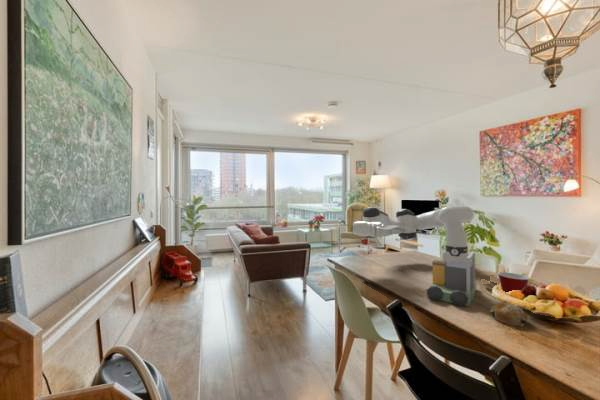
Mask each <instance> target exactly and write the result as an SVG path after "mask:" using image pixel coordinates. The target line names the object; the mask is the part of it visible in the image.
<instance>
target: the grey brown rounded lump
mask: <svg viewBox="0 0 600 400" xmlns="http://www.w3.org/2000/svg"><path fill="white" fill-rule="evenodd" d="M489 312H490V314H491V315H492V317H493V319H495V321H498V322H499V323H502V324H506V325H508V326H513V327H514V326H515V327H521V328H522V327H524V326H525V324H527V322H528V316H527V314H526V312H525V311H524V309H522V308H521V307H520V306H518V307H516V306H514V305H512V304H510V303H506V302H500V303H497V304H495V305H493V306H492V308H491V309H490V311H489Z"/></svg>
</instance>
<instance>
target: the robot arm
mask: <svg viewBox="0 0 600 400" xmlns="http://www.w3.org/2000/svg"><path fill="white" fill-rule="evenodd" d="M362 216H363V217H362V218H363V220H360V221H353V223H352V225H351V232H352V234H353V235H355V236H360V237H364V238H368V239H375V238H380V239H381V238H382V237H389V236H394V235H397V236H398V237H400V238H401V239H402V240H404V241H412V240H414V239H416V238H417V237H418V235H417V234H418V233H417V230H428V229H437V228H439V227H444V230H445V239H446V243H445V251H444V252H443V253H442V261H445V262H447V264H448V263H449V262H450V261H458V262H466V258H467V257H468V255H469V253H468V252H469V247H468V234H467V232H466V231H465V230H464V226H463V224H464V223H468V222H470V221H472V220H473V218H474V216H475V213H474V210H473V209H472V208H471V207H470V206H467V205H463V204H462V205H447V206H445V207H443V208H441V209H436V210H431V211H428V212H423V213H421V214H417V215H415V212H413V211H412V210H411V209H409V208H408V209H407V208H401V209H399V210H398V211H396V212H395V217H396V220H395V219H391V218H390V216H389V215H388V214H387V213H386V212H383V211H382V210H380V209H378V208H377V207H375V206H369V207H365V208H364V209H363V211H362ZM470 263H472V261H470Z"/></svg>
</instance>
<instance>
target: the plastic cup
mask: <svg viewBox="0 0 600 400" xmlns="http://www.w3.org/2000/svg"><path fill="white" fill-rule="evenodd" d="M497 275H498V277H499V282H500V287H502V288H501V290H502V289H503V291H505V292H509V291H512V290H522V289H523V288H524V287H525V286H526V287H527V285H528V282H529V280H530V279H531V277H529V276H527V275H523V274H520V273H512V272H505V271H504V272H502V271H499V272H497Z"/></svg>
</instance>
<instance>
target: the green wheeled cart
mask: <svg viewBox="0 0 600 400" xmlns="http://www.w3.org/2000/svg"><path fill="white" fill-rule="evenodd" d="M470 262H471V263H470ZM476 292H477V282H476V251H474V250H472V251H471V252H469V253H468V257H467V258H466V262H458V261H450V262H449V263H448V264H447V265H446V285H445V286H442V285H437V284H433V283H431V284H430V285H429V286H428V287H427V288H426V298H427V299H430V300H431V301H433V302H434V301H435V302H438V301H441V302H446V303H451V304H453V305H455V306H457V307H463V306H465V307H470V305H471V303H472V301H473V298H474V296H475V294H476Z"/></svg>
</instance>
